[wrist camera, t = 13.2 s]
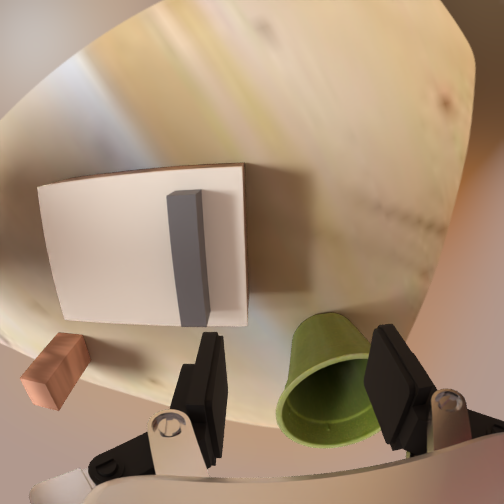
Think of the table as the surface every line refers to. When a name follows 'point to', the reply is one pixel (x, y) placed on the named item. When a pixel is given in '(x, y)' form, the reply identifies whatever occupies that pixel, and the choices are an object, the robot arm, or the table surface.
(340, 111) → the table surface
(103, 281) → the toolbox lid
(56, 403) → the salmon orange block
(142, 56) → the table surface
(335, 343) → the plant pot
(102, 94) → the table surface
